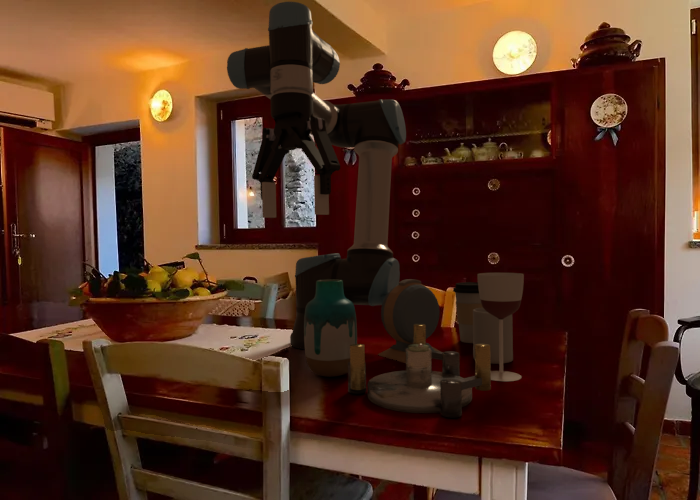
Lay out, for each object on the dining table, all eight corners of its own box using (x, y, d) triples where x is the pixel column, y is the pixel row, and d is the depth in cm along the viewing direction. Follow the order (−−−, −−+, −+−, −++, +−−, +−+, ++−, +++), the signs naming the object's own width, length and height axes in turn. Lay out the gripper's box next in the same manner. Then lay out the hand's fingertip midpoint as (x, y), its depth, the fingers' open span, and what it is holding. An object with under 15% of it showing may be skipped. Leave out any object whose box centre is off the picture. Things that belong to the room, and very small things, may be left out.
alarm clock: (419, 347, 127) (417, 276, 127) (448, 354, 119) (447, 278, 119) (374, 355, 119) (372, 280, 118) (402, 364, 111) (400, 282, 110)
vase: (368, 374, 103) (366, 279, 102) (330, 386, 95) (328, 284, 95) (332, 365, 110) (330, 277, 110) (294, 376, 103) (292, 281, 102)
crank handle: (462, 378, 98) (462, 328, 97) (454, 382, 95) (453, 330, 95) (419, 370, 104) (418, 323, 104) (410, 374, 102) (409, 325, 101)
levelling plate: (346, 398, 88) (345, 345, 88) (406, 375, 102) (405, 329, 101) (436, 421, 76) (435, 360, 76) (490, 392, 90) (489, 340, 90)
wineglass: (481, 368, 106) (480, 272, 105) (526, 372, 102) (525, 272, 102) (475, 379, 98) (474, 275, 98) (523, 383, 95) (522, 276, 94)
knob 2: (450, 419, 76) (450, 354, 76) (436, 413, 79) (435, 350, 79) (496, 406, 82) (495, 346, 81) (481, 401, 84) (480, 342, 84)
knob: (348, 388, 93) (347, 335, 92) (365, 388, 93) (364, 335, 92) (348, 406, 83) (347, 347, 83) (368, 406, 83) (367, 346, 83)
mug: (514, 364, 108) (513, 313, 108) (472, 363, 111) (472, 312, 110) (511, 352, 120) (510, 305, 120) (473, 350, 122) (473, 305, 122)
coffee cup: (488, 337, 137) (488, 281, 136) (492, 345, 127) (491, 285, 127) (452, 337, 138) (452, 281, 138) (453, 344, 129) (453, 285, 129)
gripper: (231, 104, 96) (234, 218, 96) (328, 75, 79) (331, 212, 80) (263, 111, 101) (265, 218, 102) (359, 85, 85) (361, 213, 86)
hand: (294, 216), depth 91 cm, fingers open, 13 cm apart
